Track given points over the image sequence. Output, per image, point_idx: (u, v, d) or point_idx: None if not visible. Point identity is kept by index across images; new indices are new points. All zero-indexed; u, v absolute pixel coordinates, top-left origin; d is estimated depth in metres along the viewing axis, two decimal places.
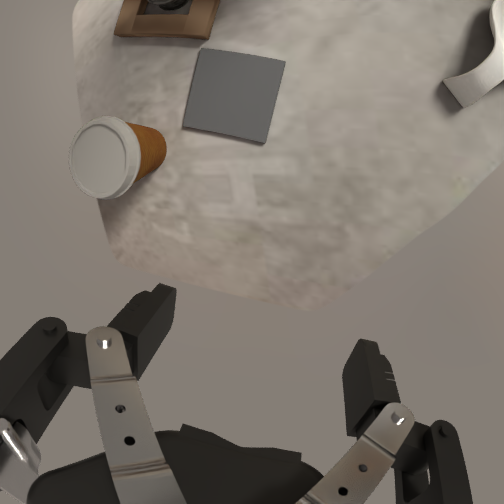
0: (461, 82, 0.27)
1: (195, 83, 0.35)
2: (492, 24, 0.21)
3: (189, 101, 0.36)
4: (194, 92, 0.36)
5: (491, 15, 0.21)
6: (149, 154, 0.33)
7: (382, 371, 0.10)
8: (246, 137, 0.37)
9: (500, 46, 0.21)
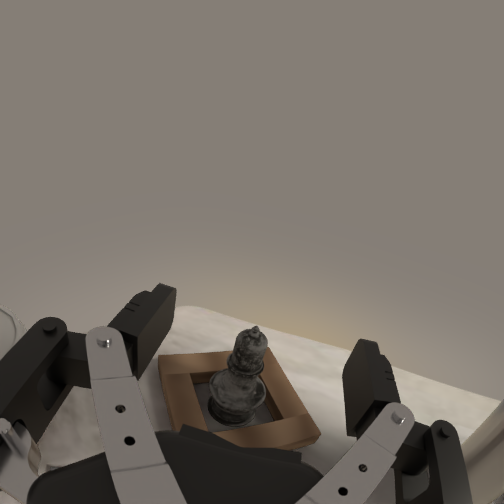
0: None
1: None
2: None
3: None
4: None
5: None
6: None
7: (382, 371, 0.10)
8: None
9: None
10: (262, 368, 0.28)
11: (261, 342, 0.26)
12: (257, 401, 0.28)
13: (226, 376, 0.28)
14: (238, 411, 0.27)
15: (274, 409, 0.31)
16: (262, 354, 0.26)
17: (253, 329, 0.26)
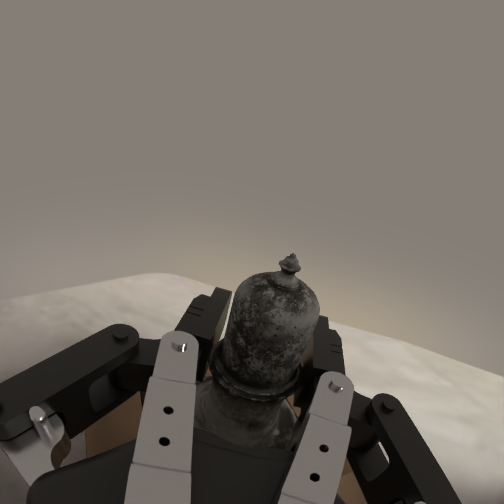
0: None
1: None
2: None
3: None
4: None
5: None
6: None
7: (327, 343, 0.11)
8: None
9: None
10: (299, 377, 0.11)
11: (306, 303, 0.09)
12: None
13: (209, 396, 0.11)
14: None
15: None
16: (306, 339, 0.09)
17: (284, 264, 0.09)
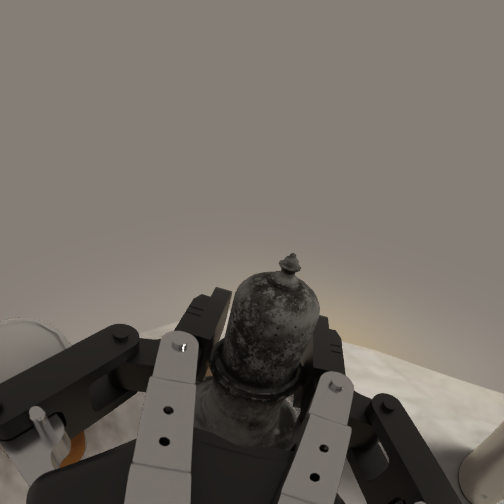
0: None
1: None
2: None
3: None
4: None
5: None
6: None
7: (327, 343, 0.11)
8: None
9: None
10: (300, 377, 0.11)
11: (306, 303, 0.09)
12: None
13: (210, 395, 0.11)
14: None
15: None
16: (307, 339, 0.09)
17: (284, 264, 0.09)
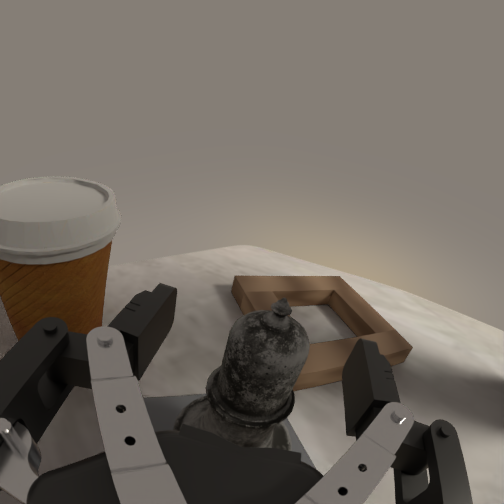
0: None
1: None
2: None
3: (166, 399, 0.18)
4: (186, 402, 0.18)
5: None
6: (46, 308, 0.14)
7: (381, 371, 0.10)
8: None
9: None
10: (291, 404, 0.11)
11: (296, 343, 0.10)
12: None
13: (207, 418, 0.12)
14: None
15: (361, 327, 0.30)
16: (296, 374, 0.10)
17: (276, 308, 0.10)
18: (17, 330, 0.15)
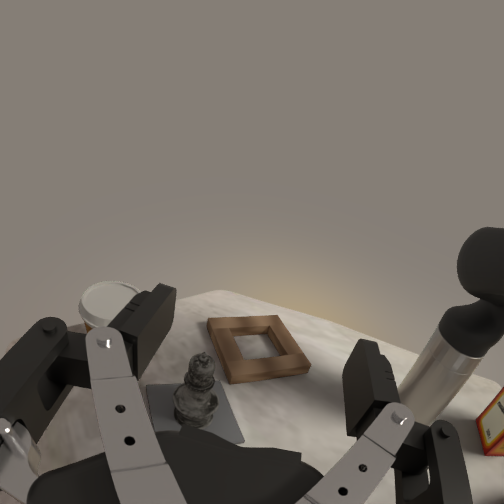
0: None
1: None
2: None
3: (169, 385, 0.40)
4: None
5: None
6: None
7: (382, 371, 0.10)
8: None
9: None
10: (212, 385, 0.33)
11: (208, 365, 0.32)
12: (211, 411, 0.34)
13: (185, 389, 0.34)
14: (194, 418, 0.33)
15: (281, 350, 0.52)
16: (210, 374, 0.32)
17: (202, 355, 0.32)
18: None
